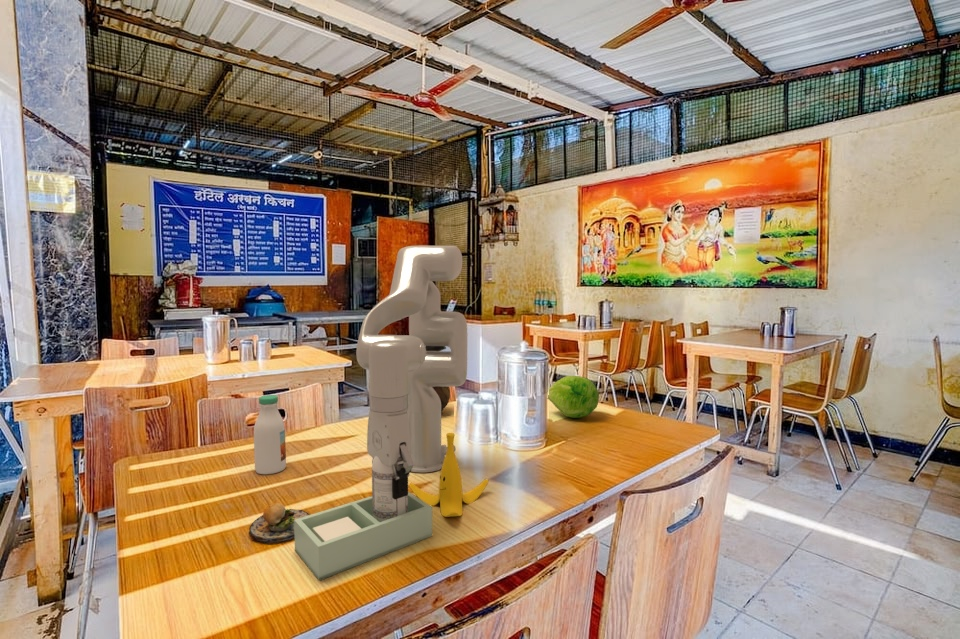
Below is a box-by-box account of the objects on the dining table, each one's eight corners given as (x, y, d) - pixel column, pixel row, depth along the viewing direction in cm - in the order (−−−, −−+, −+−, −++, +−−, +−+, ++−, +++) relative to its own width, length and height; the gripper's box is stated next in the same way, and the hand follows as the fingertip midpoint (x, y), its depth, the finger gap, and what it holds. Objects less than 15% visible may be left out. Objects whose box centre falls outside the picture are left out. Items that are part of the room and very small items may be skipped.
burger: (317, 535, 98) (316, 500, 97) (253, 554, 92) (252, 516, 91) (303, 510, 108) (302, 478, 107) (245, 525, 102) (243, 491, 101)
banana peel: (452, 529, 100) (452, 450, 99) (407, 497, 115) (406, 427, 114) (513, 507, 110) (513, 434, 109) (464, 479, 125) (464, 416, 124)
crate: (401, 513, 106) (401, 487, 106) (432, 536, 97) (432, 506, 97) (294, 550, 92) (294, 519, 91) (319, 580, 83) (318, 546, 82)
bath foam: (392, 510, 103) (391, 418, 101) (415, 521, 98) (414, 424, 97) (365, 523, 98) (363, 425, 96) (387, 535, 93) (386, 433, 91)
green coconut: (558, 408, 195) (558, 369, 194) (606, 416, 184) (607, 375, 182) (537, 417, 181) (538, 376, 180) (588, 427, 170) (589, 382, 168)
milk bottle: (274, 476, 126) (272, 400, 125) (248, 473, 128) (245, 399, 126) (291, 465, 134) (289, 393, 132) (266, 463, 136) (264, 392, 134)
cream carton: (348, 536, 96) (347, 516, 96) (364, 551, 90) (363, 530, 90) (312, 548, 91) (312, 528, 91) (327, 565, 86) (327, 543, 86)
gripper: (352, 397, 100) (353, 481, 102) (394, 416, 87) (395, 512, 88) (384, 392, 105) (386, 472, 106) (429, 409, 92) (430, 500, 93)
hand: (390, 489), depth 97 cm, fingers closed on bath foam, 7 cm apart
